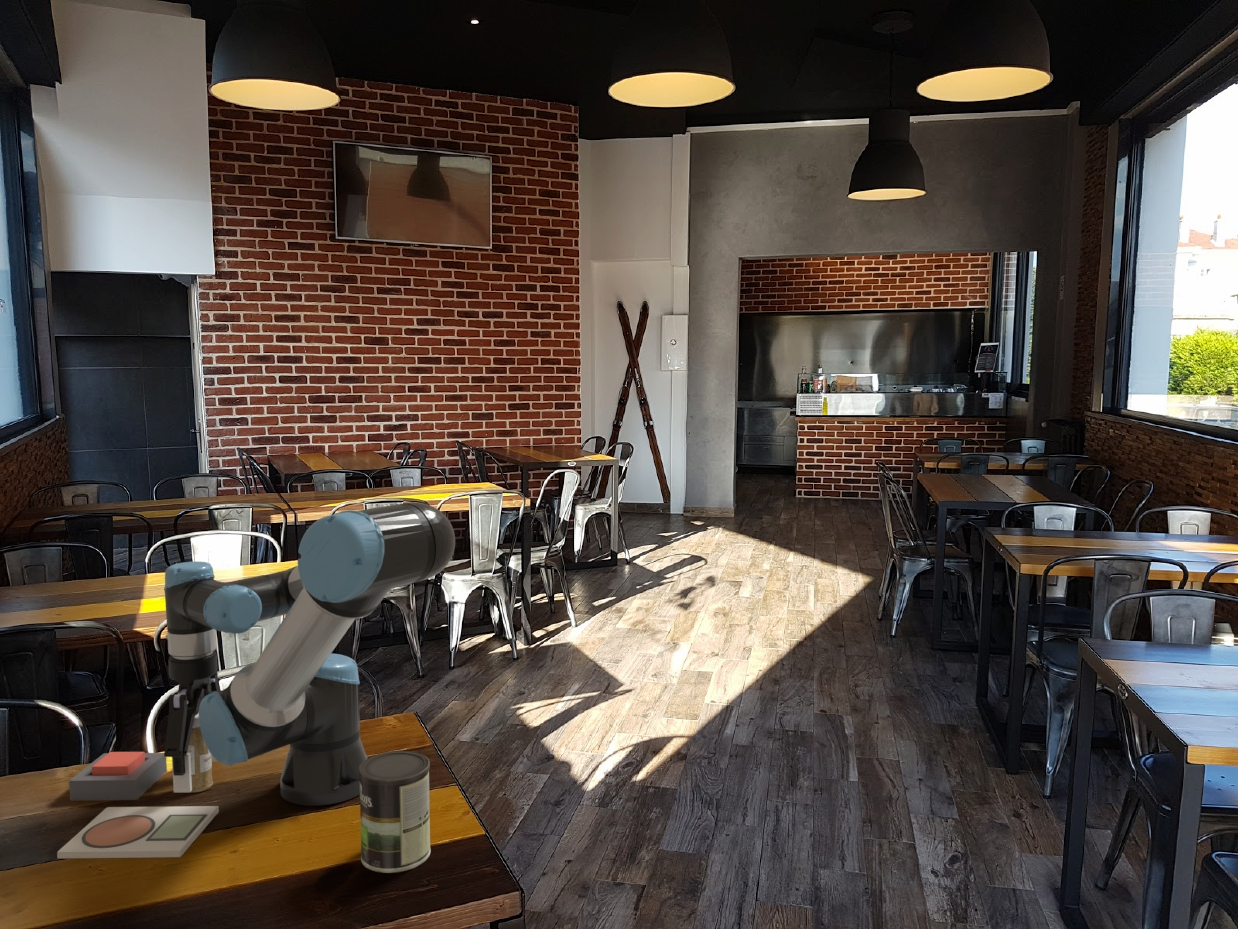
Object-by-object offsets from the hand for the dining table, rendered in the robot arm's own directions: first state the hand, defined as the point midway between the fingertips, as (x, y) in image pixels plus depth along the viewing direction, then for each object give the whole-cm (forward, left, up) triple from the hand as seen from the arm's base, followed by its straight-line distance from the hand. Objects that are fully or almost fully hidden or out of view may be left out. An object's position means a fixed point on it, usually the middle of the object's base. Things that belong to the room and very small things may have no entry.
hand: (198, 775), depth 159 cm
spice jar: (0, 0, -2) cm, 2 cm away
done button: (+14, -1, 0) cm, 14 cm away
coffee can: (-39, +23, -2) cm, 45 cm away
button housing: (+14, -1, -2) cm, 14 cm away
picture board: (+2, +16, -2) cm, 16 cm away
